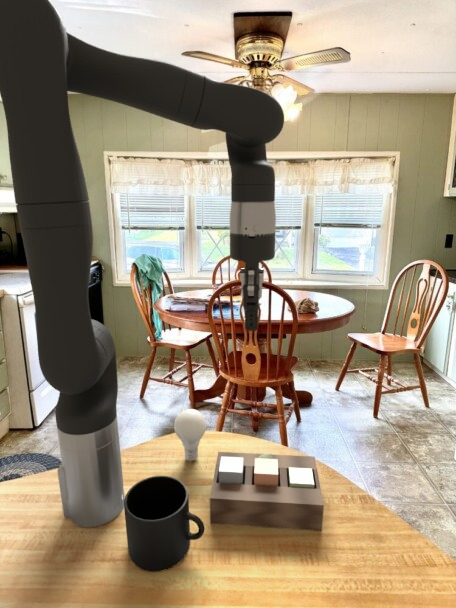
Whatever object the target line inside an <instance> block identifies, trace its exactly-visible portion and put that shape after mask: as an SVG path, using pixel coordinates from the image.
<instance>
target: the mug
mask: <svg viewBox="0 0 456 608" xmlns="http://www.w3.org/2000/svg"><path fill="white" fill-rule="evenodd" d="M124 498H125V499H124V507H123V509H124V520H125V529H126V532H125V533H126V540H127V542H126V543H127V553H128V557H129V559H130V560H131V562H132V563H133V564H134V566H136V567H138V568H139V569H141V570H143V571H146V572H150V573H151V572H153V573H156V572H163V571H166V570H169V569H171V568H173V567H175V566H177V565H178V564H180V562H181V561H183V559H184V557H185V556H186V554H187V553H188V551H189V548H190V546H191V541H196V540H199V539H200V538H202V537H203V535H204V534H205V529H206V528H205V524H204V522H203V521H202V519H201V518H200V517H199V516H197V515H196V514H193V513H191V512H190V501H189V499H190V498H189V491H188V488H187V486H186V485H185V484H184V482H182V481H181V480H180V479H178V478H176V477H173V476H168V475H155V476H150V477H146V478H144V479H142V480H140V481H138V482H137V483H135V484H133V486H131V487H130V488H129V489H128V491H127V492H126V494H125V495H124ZM191 521H192V522H194V523H195V524H196V525H197V528H198V531H197V532H195V533H193V532H191V528H190V527H191V526H190V522H191Z"/></svg>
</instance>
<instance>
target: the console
mask: <svg viewBox="0 0 456 608" xmlns="http://www.w3.org/2000/svg"><path fill="white" fill-rule="evenodd" d="M221 456H224V457H243V458H244V479H243V484H227V483H219V467H220V461H221ZM255 458H263V459H278V486H262V485H254V469H255ZM289 467H292V468H311V469H312V473H313V479H314V488H297V487H288V475H289ZM214 468H215V469H214V472H213V473H214V474H213V479H212V484H211V489H210V490H211V492H210V496H209V510H210V511H209V514H210V516H209V517H210V518H209V519H210V520H209V521H210V525H211V524H212V525H224V526H225V525H226V526H227V525H228V526H241V527H242V526H243V527H257V528H258V527H259V528H270V529H271V528H272V529H284V530H285V529H288V530H301V531H317V532H318V531H319V532H322V531H323V521H324V518H323V517H324V505H325V504H324V498H323V493H322V489H321V482H320V478H319V477H320V476H319V474H318V473H319V472H318V467H317V462H316V457H315V456H313V455H311V456H308V455H306V456H305V455H293V454H292V455H288V454H272V453H271V454H268V453H251V452H250V453H249V452H248V453H247V452H234V451H233V452H229V451H217V456H216V462H215V466H214Z"/></svg>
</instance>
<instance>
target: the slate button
mask: <svg viewBox="0 0 456 608" xmlns="http://www.w3.org/2000/svg"><path fill="white" fill-rule="evenodd" d="M243 479H244V458H243V457H224V456H221V461H220V467H219V483H227V484H243Z"/></svg>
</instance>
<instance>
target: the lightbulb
mask: <svg viewBox="0 0 456 608" xmlns="http://www.w3.org/2000/svg"><path fill="white" fill-rule="evenodd" d="M173 429H174V432H175V435H176V436H177V437H178V439H179V440H180V441H181V443H182V446H183V450H184V459H185V460H186V461H188V462H190V461H191V462H192V461H196V460H197V459H198V457H199V452H198V451H199V445H200V442H201V439H202V437H203V436H205V433H206V429H207V420H206V417H205V416H204V414H203V413H202V412H200V411H199V410H197V409H194V408H187V409H184V410H181V411H180V412H179V414H177V416H176V417H175V420H174V423H173Z"/></svg>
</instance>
